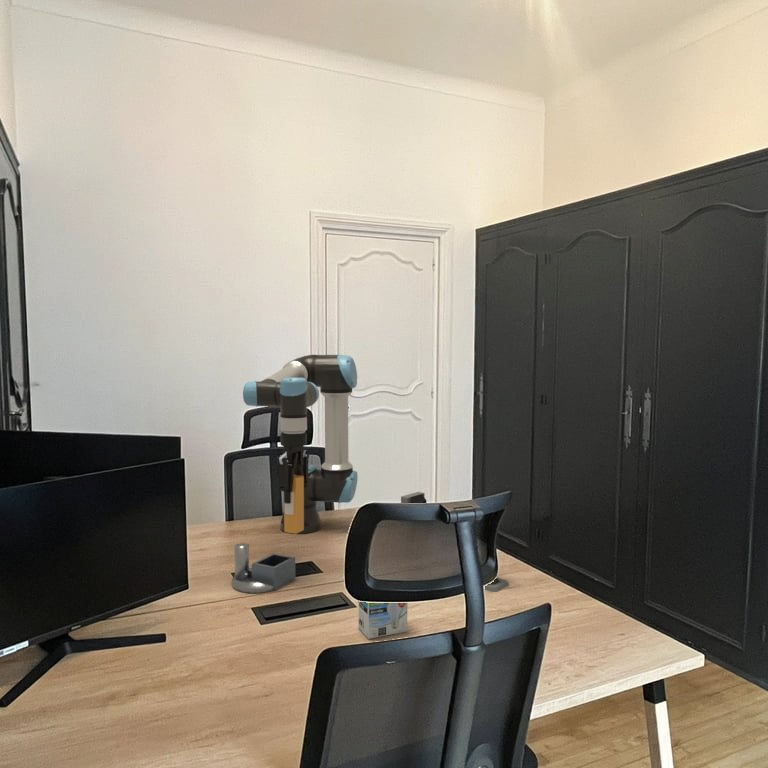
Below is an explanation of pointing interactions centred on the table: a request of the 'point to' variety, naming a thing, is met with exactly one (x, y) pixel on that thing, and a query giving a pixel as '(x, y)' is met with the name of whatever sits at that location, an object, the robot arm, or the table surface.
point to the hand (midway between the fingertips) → (293, 511)
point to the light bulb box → (382, 618)
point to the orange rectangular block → (296, 507)
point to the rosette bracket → (261, 571)
